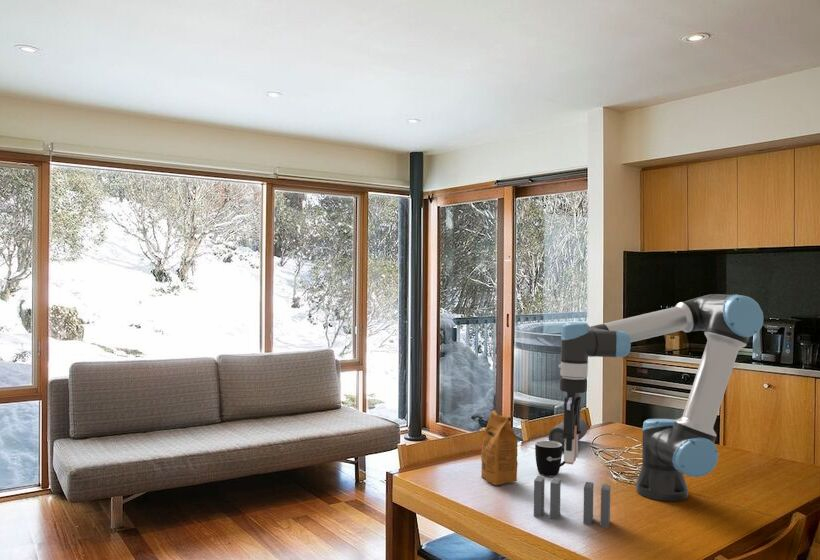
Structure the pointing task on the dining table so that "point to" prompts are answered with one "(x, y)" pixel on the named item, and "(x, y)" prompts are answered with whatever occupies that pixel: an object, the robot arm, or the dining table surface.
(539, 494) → the domino
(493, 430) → the coffee package
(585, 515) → the domino
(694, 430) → the robot arm
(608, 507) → the domino
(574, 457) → the domino
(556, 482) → the domino
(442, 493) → the dining table surface
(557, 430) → the bluetooth speaker
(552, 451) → the mug
